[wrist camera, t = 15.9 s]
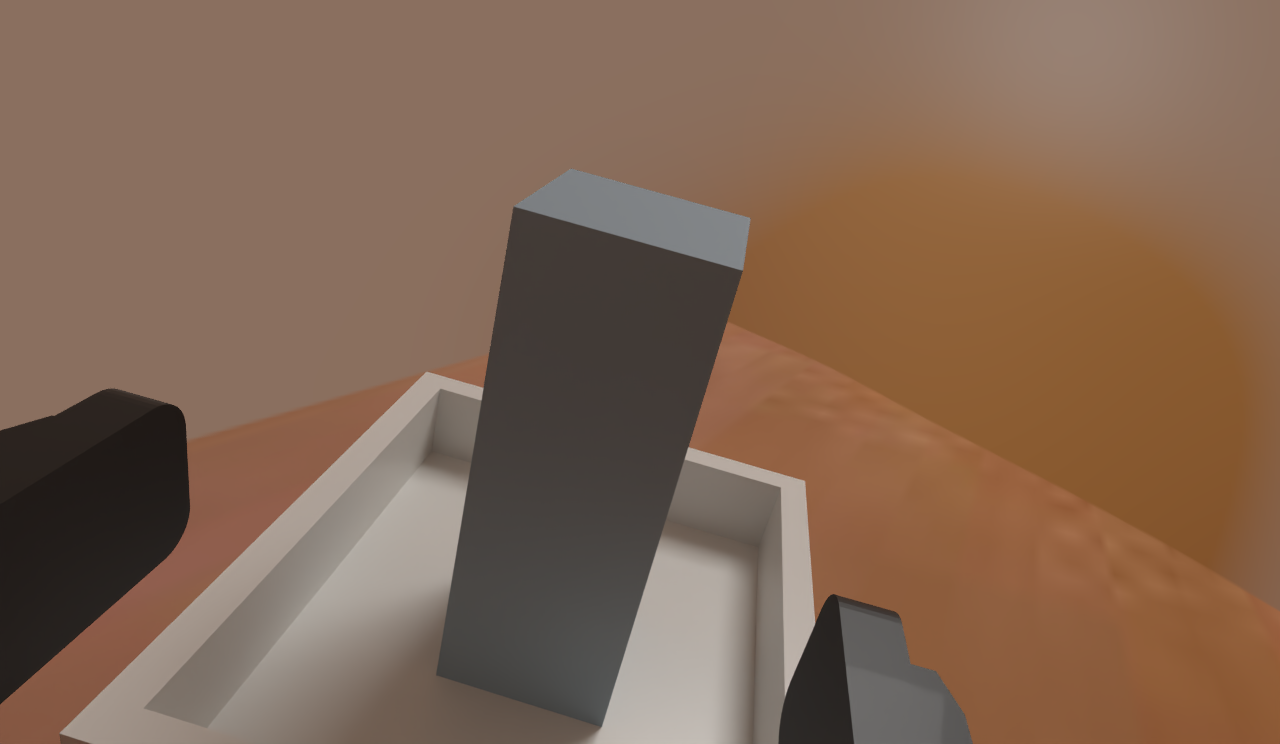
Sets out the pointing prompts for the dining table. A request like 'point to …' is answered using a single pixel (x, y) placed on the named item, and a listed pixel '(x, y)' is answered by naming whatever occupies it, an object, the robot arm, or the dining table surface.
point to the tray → (417, 604)
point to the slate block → (583, 433)
